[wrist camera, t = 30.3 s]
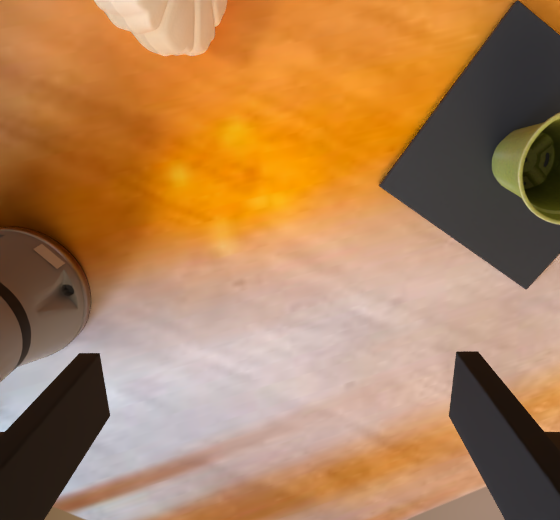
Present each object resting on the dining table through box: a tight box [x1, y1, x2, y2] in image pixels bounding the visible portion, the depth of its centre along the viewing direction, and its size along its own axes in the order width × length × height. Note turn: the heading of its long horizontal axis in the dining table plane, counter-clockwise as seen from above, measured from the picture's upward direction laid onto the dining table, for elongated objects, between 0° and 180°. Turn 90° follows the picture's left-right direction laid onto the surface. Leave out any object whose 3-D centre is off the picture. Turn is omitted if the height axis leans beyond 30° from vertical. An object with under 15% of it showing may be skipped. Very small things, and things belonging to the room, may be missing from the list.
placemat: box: [379, 0, 560, 289], centre depth 42 cm, size 20×20×1 cm
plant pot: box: [492, 112, 560, 225], centre depth 38 cm, size 9×9×9 cm
